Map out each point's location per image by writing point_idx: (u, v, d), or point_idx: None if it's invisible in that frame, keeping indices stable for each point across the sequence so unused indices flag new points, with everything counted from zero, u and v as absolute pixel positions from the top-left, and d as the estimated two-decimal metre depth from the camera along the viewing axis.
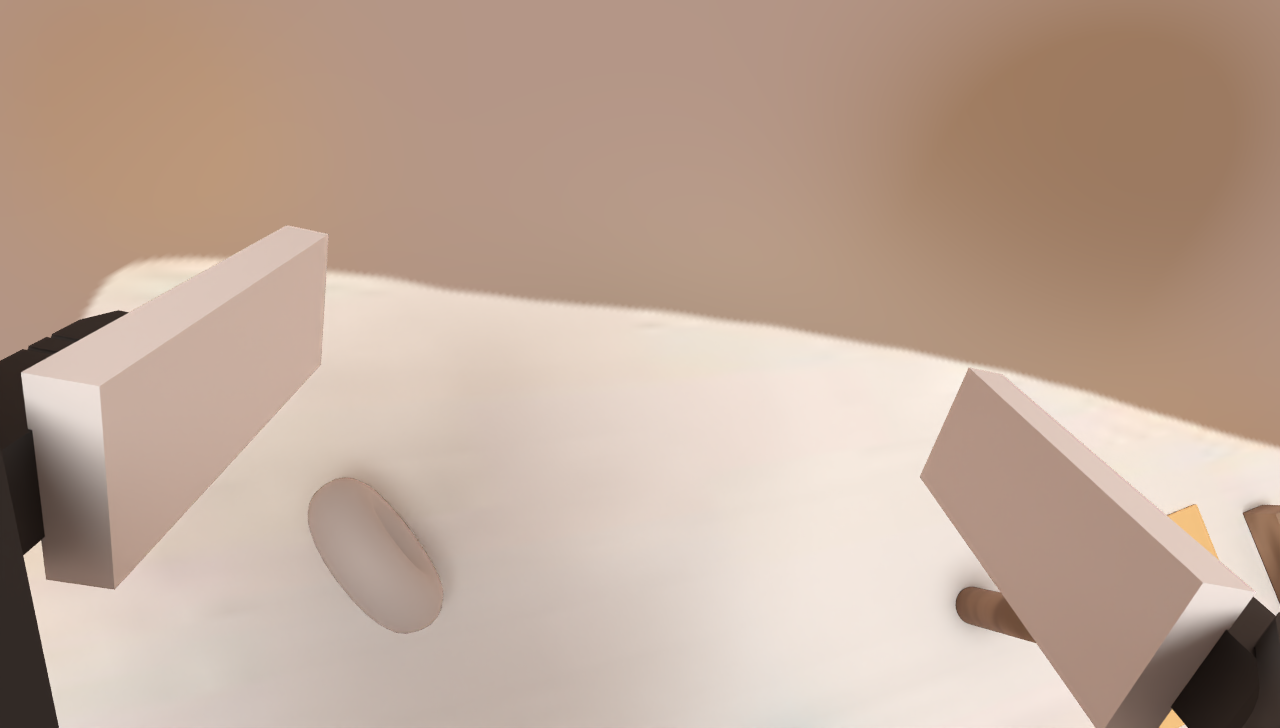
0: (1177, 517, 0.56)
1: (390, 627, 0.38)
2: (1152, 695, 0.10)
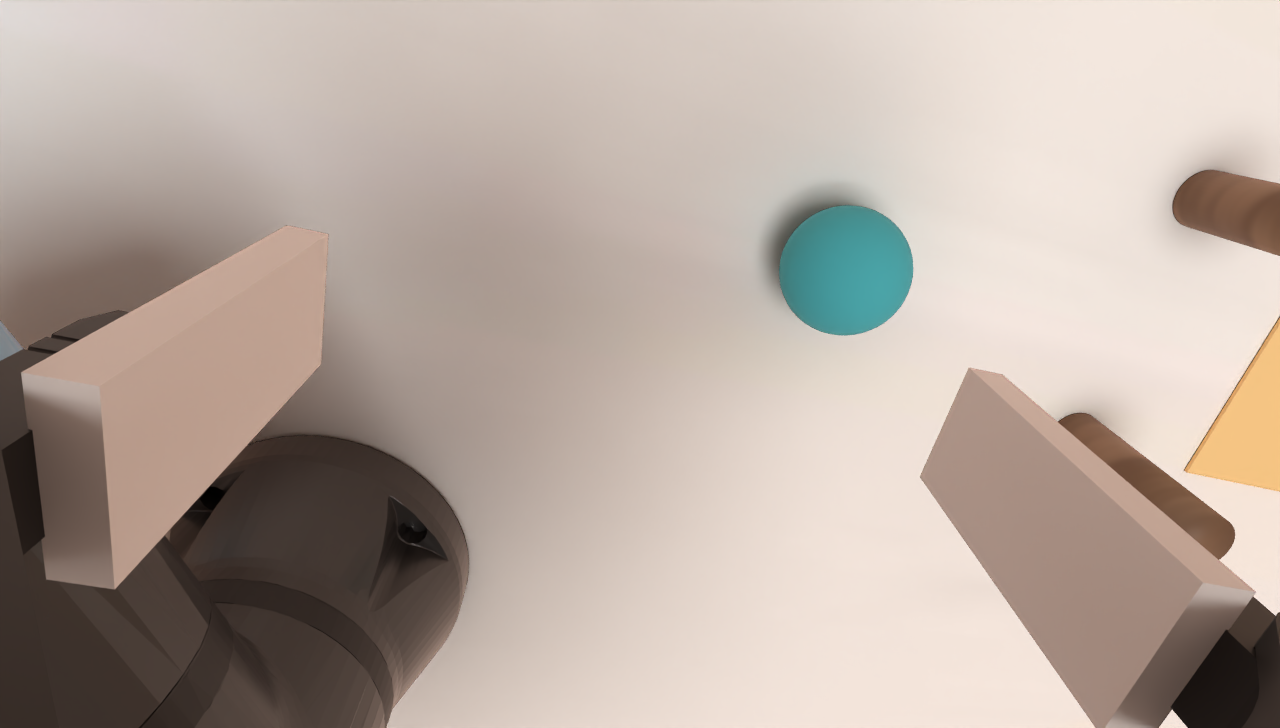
0: None
1: None
2: (1152, 695, 0.10)
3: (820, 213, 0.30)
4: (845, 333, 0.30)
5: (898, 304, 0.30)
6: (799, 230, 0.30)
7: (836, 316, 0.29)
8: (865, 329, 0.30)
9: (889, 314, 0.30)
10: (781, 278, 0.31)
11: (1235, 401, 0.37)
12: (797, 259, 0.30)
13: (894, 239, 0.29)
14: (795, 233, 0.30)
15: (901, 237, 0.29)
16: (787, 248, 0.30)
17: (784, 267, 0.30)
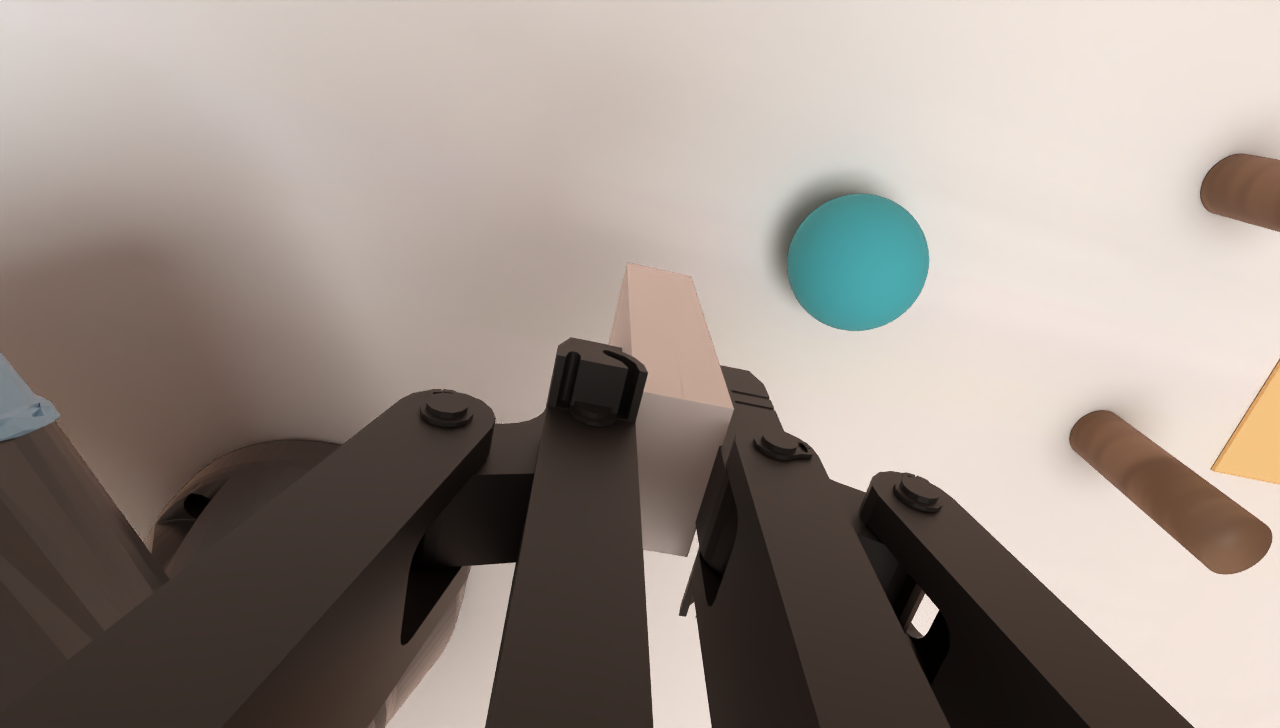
0: None
1: None
2: (676, 511, 0.11)
3: (830, 202, 0.29)
4: (857, 328, 0.29)
5: (913, 298, 0.28)
6: (808, 221, 0.29)
7: (848, 310, 0.28)
8: (879, 324, 0.29)
9: (904, 308, 0.28)
10: (789, 271, 0.29)
11: (1265, 397, 0.36)
12: (806, 251, 0.28)
13: (909, 228, 0.27)
14: (804, 223, 0.29)
15: (916, 226, 0.28)
16: (795, 240, 0.29)
17: (792, 259, 0.29)
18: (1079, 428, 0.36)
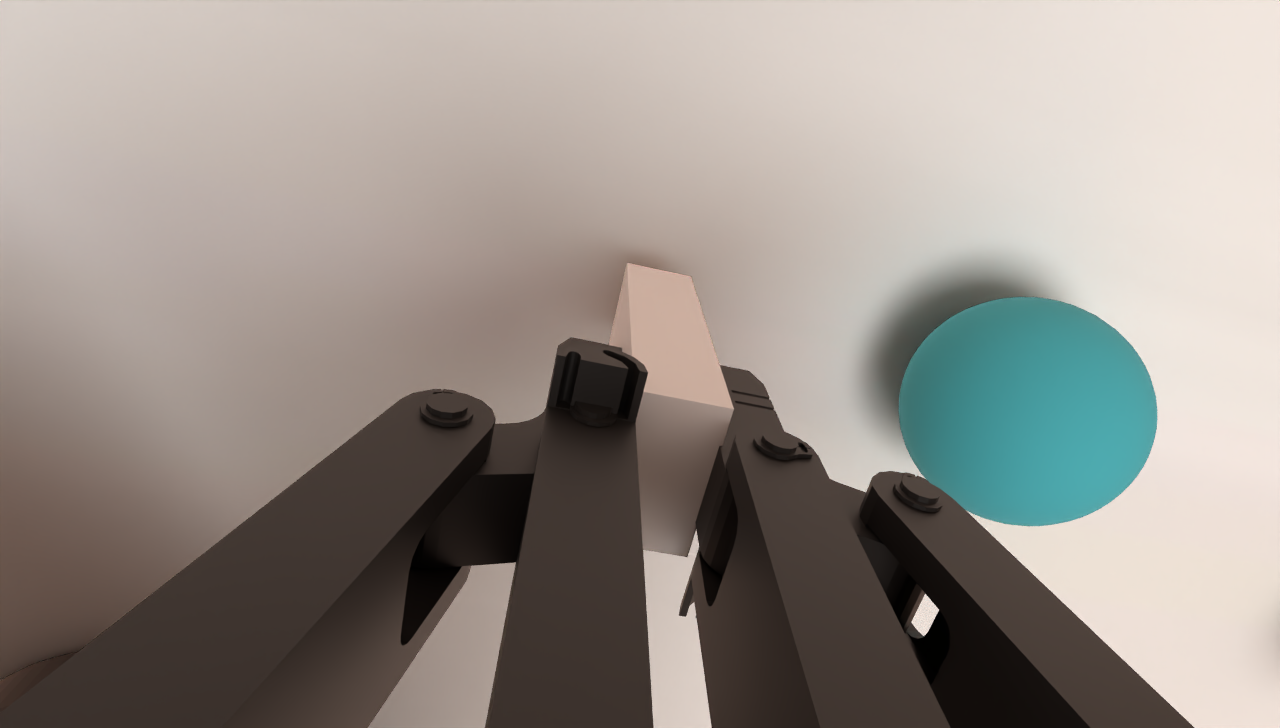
0: None
1: None
2: (675, 510, 0.11)
3: (983, 314, 0.17)
4: (1026, 525, 0.17)
5: (1131, 482, 0.16)
6: (943, 345, 0.17)
7: (1022, 508, 0.16)
8: (1065, 521, 0.17)
9: (1113, 498, 0.16)
10: (908, 425, 0.18)
11: None
12: (946, 403, 0.16)
13: (1135, 369, 0.15)
14: (936, 348, 0.17)
15: (1141, 362, 0.16)
16: (921, 375, 0.17)
17: (916, 409, 0.17)
18: None
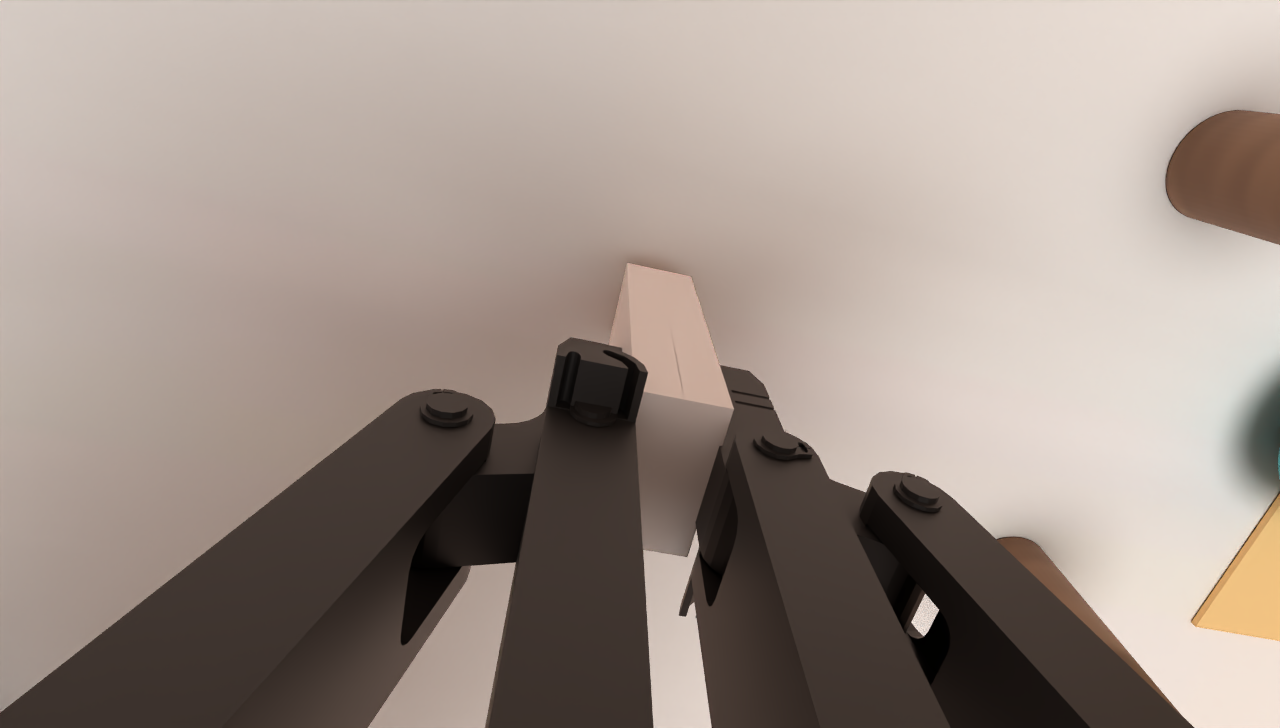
0: None
1: None
2: (675, 510, 0.11)
3: None
4: None
5: None
6: None
7: None
8: None
9: None
10: None
11: (1278, 518, 0.22)
12: None
13: None
14: None
15: None
16: None
17: None
18: None
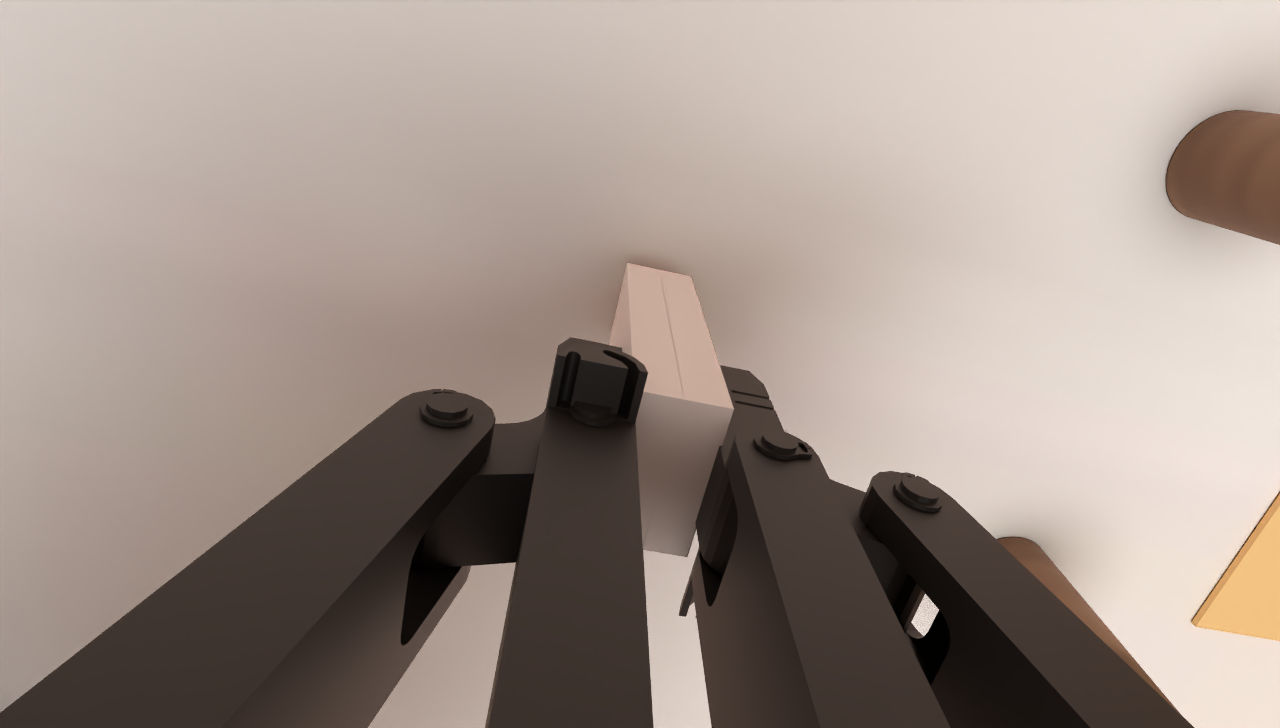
0: None
1: None
2: (675, 510, 0.11)
3: None
4: None
5: None
6: None
7: None
8: None
9: None
10: None
11: (1278, 518, 0.22)
12: None
13: None
14: None
15: None
16: None
17: None
18: None
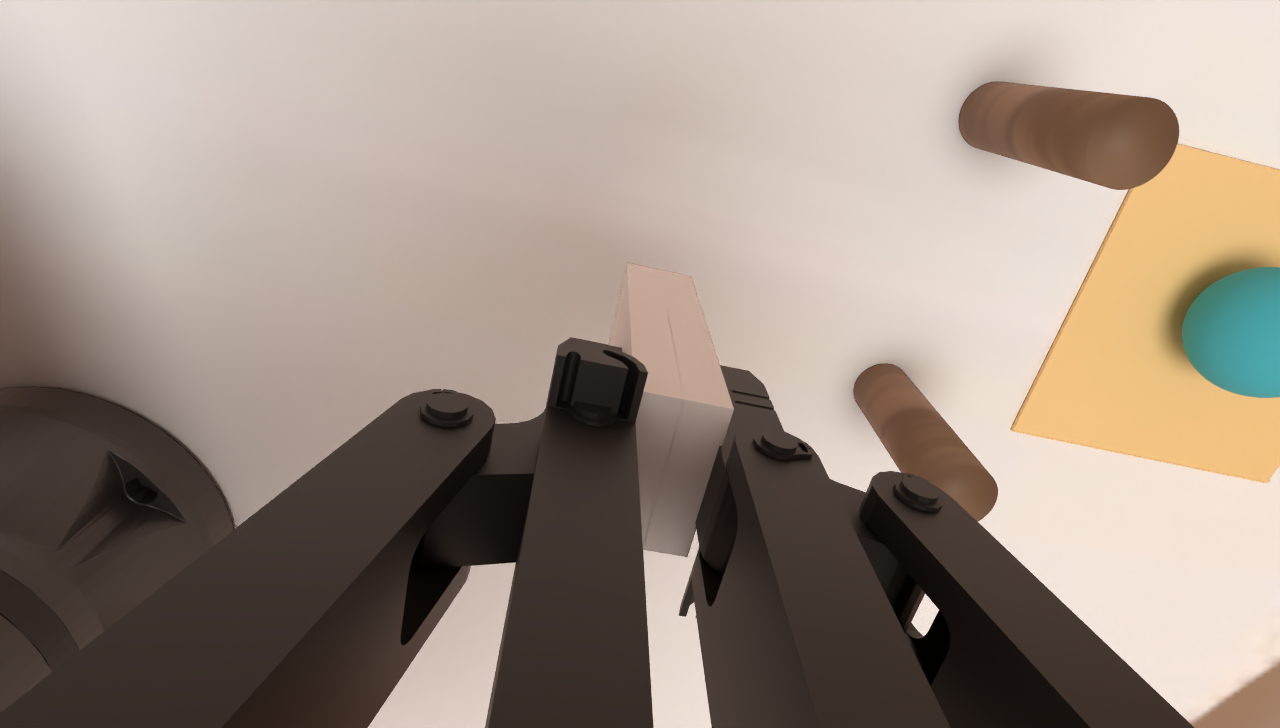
0: None
1: None
2: (676, 510, 0.11)
3: None
4: (1196, 369, 0.32)
5: (1219, 341, 0.30)
6: None
7: (1182, 340, 0.32)
8: (1199, 364, 0.31)
9: (1210, 348, 0.30)
10: None
11: (1057, 351, 0.33)
12: None
13: (1251, 280, 0.29)
14: None
15: (1269, 284, 0.29)
16: None
17: None
18: (859, 382, 0.34)
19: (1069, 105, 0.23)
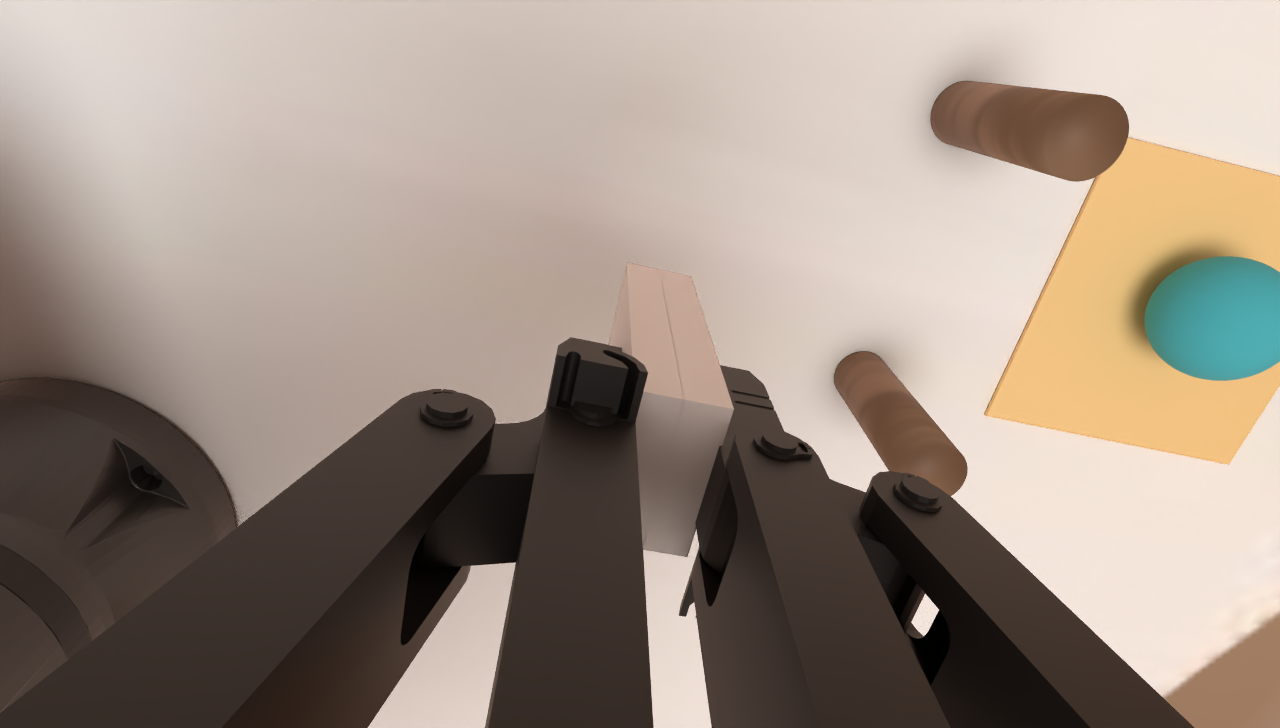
0: None
1: None
2: (675, 511, 0.11)
3: None
4: (1158, 354, 0.33)
5: (1178, 326, 0.31)
6: None
7: None
8: (1160, 349, 0.33)
9: (1169, 334, 0.32)
10: None
11: (1027, 338, 0.35)
12: None
13: (1207, 268, 0.31)
14: None
15: (1223, 272, 0.30)
16: None
17: None
18: (839, 369, 0.35)
19: (1029, 102, 0.24)
